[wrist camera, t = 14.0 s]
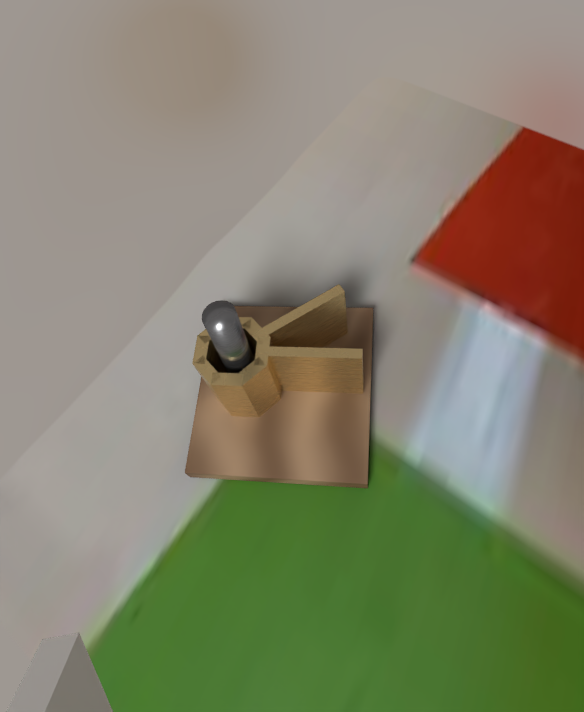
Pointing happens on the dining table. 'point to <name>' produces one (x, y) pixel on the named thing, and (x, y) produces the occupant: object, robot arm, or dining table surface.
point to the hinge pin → (227, 335)
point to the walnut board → (290, 425)
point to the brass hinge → (286, 358)
